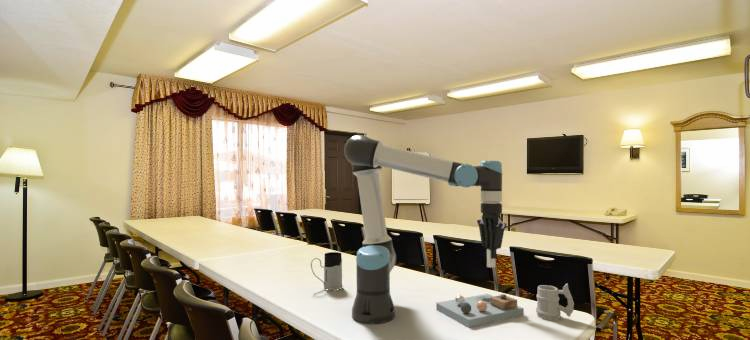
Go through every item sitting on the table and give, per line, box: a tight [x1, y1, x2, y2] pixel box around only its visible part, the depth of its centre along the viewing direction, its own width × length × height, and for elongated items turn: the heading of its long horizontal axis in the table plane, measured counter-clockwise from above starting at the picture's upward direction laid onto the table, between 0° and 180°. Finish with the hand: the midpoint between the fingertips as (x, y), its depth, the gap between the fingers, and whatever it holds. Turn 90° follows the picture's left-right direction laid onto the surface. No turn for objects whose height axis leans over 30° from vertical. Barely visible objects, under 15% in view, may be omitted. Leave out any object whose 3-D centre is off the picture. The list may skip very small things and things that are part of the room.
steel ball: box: [454, 294, 465, 306], centre depth 130 cm, size 4×4×4 cm
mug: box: [535, 283, 575, 321], centre depth 125 cm, size 8×12×12 cm, turn 60°
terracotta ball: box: [477, 301, 487, 312], centre depth 124 cm, size 4×4×4 cm
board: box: [435, 293, 525, 329], centre depth 130 cm, size 24×18×2 cm
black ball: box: [461, 302, 471, 314], centre depth 123 cm, size 4×4×4 cm
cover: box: [490, 293, 518, 310], centre depth 129 cm, size 6×6×4 cm
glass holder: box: [310, 251, 344, 291], centre depth 160 cm, size 9×14×15 cm, turn 112°
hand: (491, 266), depth 134 cm, fingers closed
